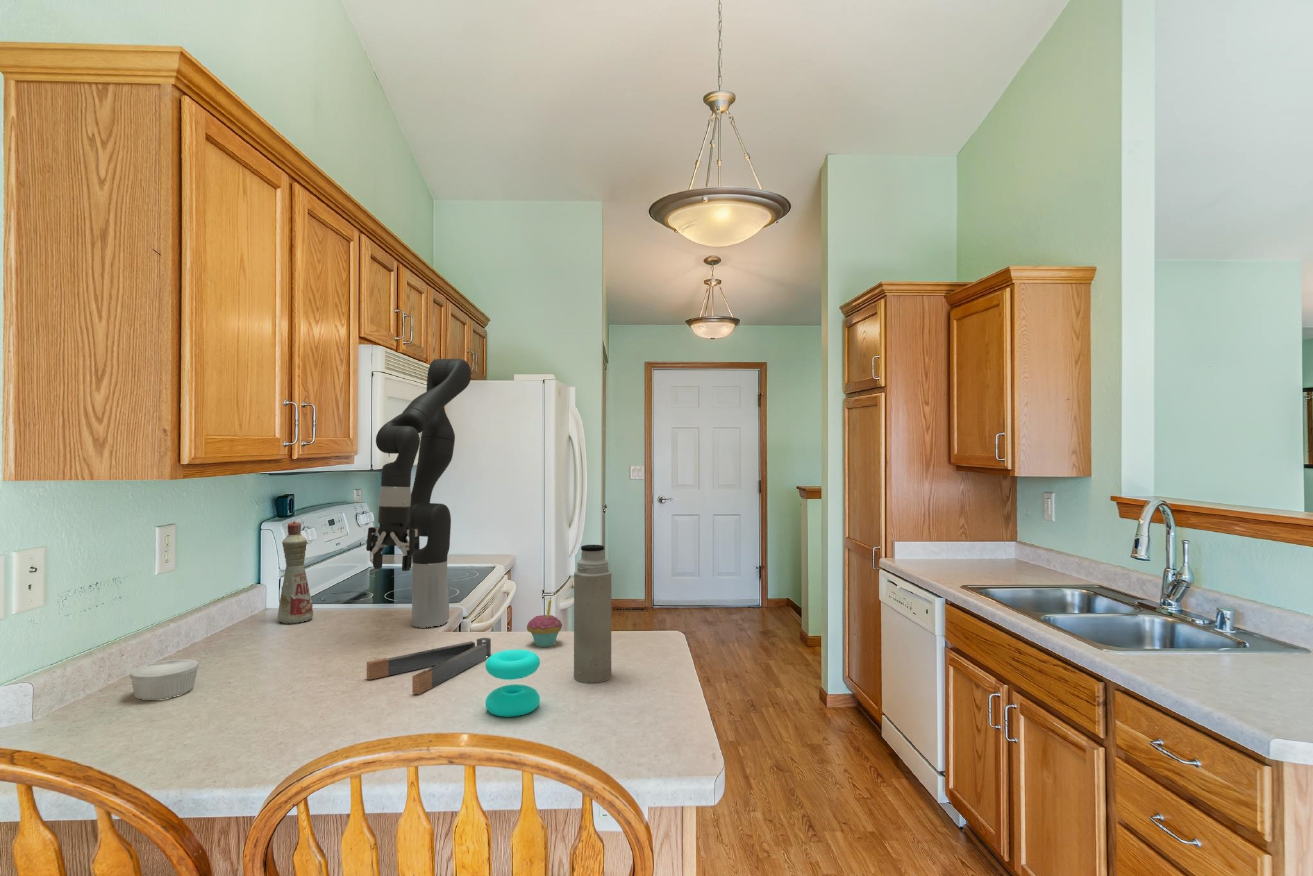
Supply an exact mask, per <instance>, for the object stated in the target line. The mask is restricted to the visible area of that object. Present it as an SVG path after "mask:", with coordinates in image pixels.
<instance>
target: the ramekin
mask: <svg viewBox="0 0 1313 876" xmlns="http://www.w3.org/2000/svg"><path fill="white" fill-rule="evenodd" d="M199 666H200V663H199V661H197V660H195V659H189V658H187V659H183V658H181V659H170V660H162V661H156V662H151V663H147V664H144V665H141V666H138V667H135V668H133V669H132V670H131V671H130V673H129V678H130V679H131V685H132V689H133V694H134V697H135V698H136V699H137V698H138V699H137V700H139V699H142V700H158V699H166V698H170V697H174V696H177V695H181V694H184V693H186V692H188V691H189V692H191V691H192V689H193V688H194V686H195V681H196V677H197V673H198V669H199ZM189 692H188V693H189ZM186 694H187V693H186ZM184 695H185V694H184ZM181 696H182V695H181ZM170 699H171V698H170ZM142 700H141V701H142ZM166 700H167V699H166Z"/></svg>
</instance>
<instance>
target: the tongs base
mask: <svg viewBox="0 0 1313 876" xmlns="http://www.w3.org/2000/svg"><path fill="white" fill-rule="evenodd" d="M491 641H492V639H491V638H489V637H481V638H477V639H476V645H475V647H473V648H471V649H469V650H467V651H465V652H463V653H461V654H459V655H457V656H455V657H453V658H451V659H449V660H447V661H445V662H443V663H441V664H439V665H434V666H433V667H432V666H431V668H428V669H424V670H423V671H420V672H417V673H416V674H414V675H412V678H411V679H412V686H411V687H412V688H411V689H412V693H411V694H413V695H414V694H415V695H421V694H423V693H424V692H426V691H428V690H430V689H432V688H434V687H436V686H438V685H440V684H441V683H444V682H445V681H447V680H449V679H451V678H452V677H455V676H456V674H457V675H458V674H460V673H462V672H464V671H465V670H467V669H470V668H472V667H474V666H476V665H477V664H479V663H481V662H483V661H485V660H487V658H486V656H490V655H492V654H491V653H492V647H491V646H492V644H491V643H492V642H491ZM480 661H481V662H480ZM476 663H477V664H476ZM469 667H470V668H469Z"/></svg>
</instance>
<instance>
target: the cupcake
mask: <svg viewBox="0 0 1313 876" xmlns="http://www.w3.org/2000/svg"><path fill="white" fill-rule="evenodd" d="M551 605H552V596H550V598H549V599H548V604H547V612H546V614H545V615H543V614H541V615H536V616H534V617H533V618H532V619H530V620H529V621H528V623H527V625H526V631H527V632H529V633H531V635H532V638H533V641H534V645H535V646H536V647H539V648H546V647H548V646H549V647H553V646H554V645H555V644H556V641H557V637H558V634H559V632H560V631H561V630H562V627H563V624H562V622H561V620H560V619H559V618H558V617H556V616H554V615H552V614H551V607H552V606H551Z"/></svg>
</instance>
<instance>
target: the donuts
mask: <svg viewBox="0 0 1313 876" xmlns="http://www.w3.org/2000/svg"><path fill="white" fill-rule="evenodd" d="M540 664H541V660H540V656H539V655H538V654H537V653H536V652H534V651H531V650H528V649H506V650H501V651H498V652H495V653H493V654H491V656H490V657H487V658H486V661H485V669H486V672H487V673H488V674H489V675H490V676H491V677H493V678H496V679H500V680H504V681H505V680H509V681H511V680H512V681H513V680H519V679H523V678H527V677H529V676H530V675H533V674H534V673H536V671H538V669H539V667H540ZM540 697H541V696H540V694H539V692H538V691H537V689H535V688H534V687H531V686H528V685H525V684H518V683H517V684H507V685H503V686H500V687H497V688H495V689H494V690H492V691H491V692H489V694H488V695H487V696H486V699H485V708H486V710H487V711H488V712H489V713H490V714H492V715H495V716H498V717H502V716H503V717H505V718H510V717H511V718H512V717H513V718H514V717H521V716H523V715H527V714H530V713H531V712H533V711H535V710H536V709H537V707H538V706H539V704H540V701H541V700H540V699H541V698H540ZM520 715H521V716H520Z"/></svg>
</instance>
